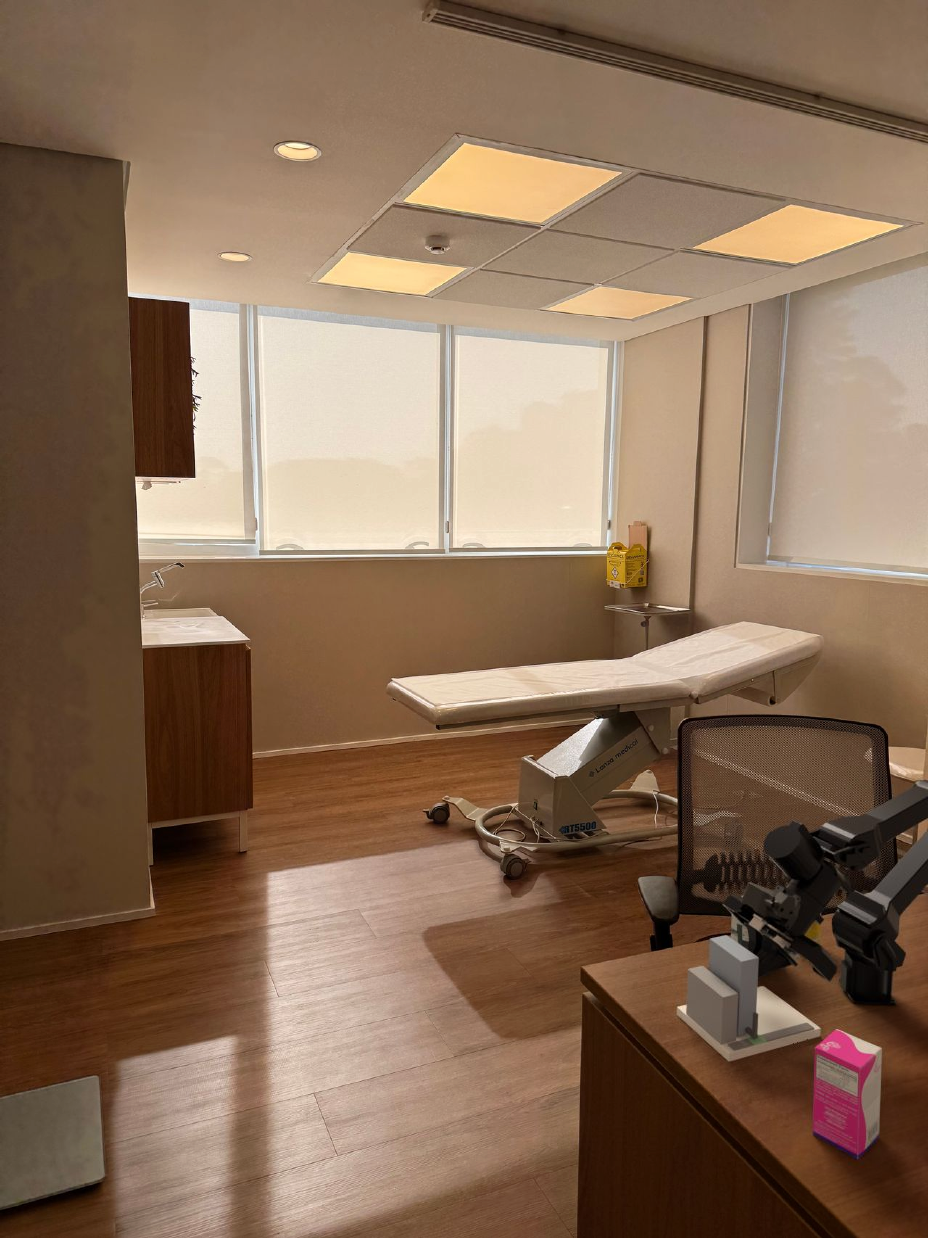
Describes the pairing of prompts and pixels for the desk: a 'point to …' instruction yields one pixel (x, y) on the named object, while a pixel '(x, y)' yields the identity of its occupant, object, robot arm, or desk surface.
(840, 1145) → the supplement box
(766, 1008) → the base
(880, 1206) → the desk surface
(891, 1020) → the desk surface
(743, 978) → the block
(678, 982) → the desk surface
